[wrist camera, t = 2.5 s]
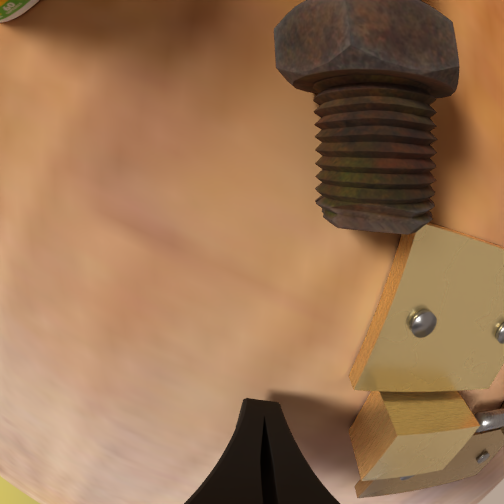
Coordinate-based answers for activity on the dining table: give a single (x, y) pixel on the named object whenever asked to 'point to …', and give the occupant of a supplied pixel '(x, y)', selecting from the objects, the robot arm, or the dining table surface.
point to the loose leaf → (428, 353)
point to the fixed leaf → (461, 466)
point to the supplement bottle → (14, 8)
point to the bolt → (371, 103)
